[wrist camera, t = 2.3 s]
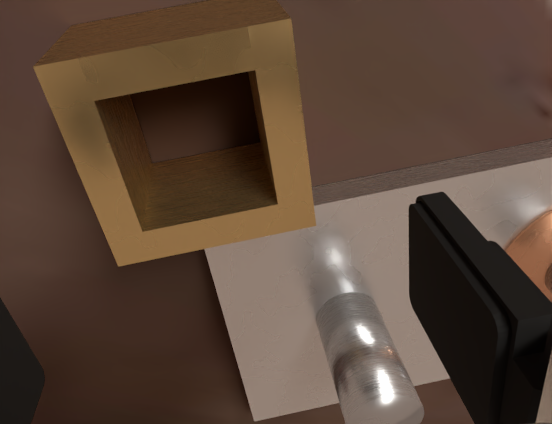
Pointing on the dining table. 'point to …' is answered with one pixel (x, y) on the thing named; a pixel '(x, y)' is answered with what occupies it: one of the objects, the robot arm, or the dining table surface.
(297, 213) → the gold square frame
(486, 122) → the dining table surface
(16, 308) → the dining table surface
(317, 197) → the peg board
